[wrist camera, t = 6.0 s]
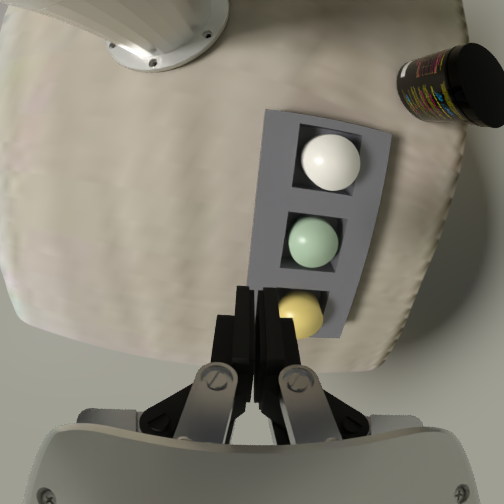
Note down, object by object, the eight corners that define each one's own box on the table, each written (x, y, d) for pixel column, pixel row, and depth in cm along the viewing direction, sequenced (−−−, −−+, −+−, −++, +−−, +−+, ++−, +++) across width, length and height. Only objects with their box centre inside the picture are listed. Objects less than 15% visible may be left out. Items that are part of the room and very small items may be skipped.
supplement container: (432, 134, 22) (501, 145, 12) (384, 97, 21) (448, 88, 11) (450, 87, 19) (516, 84, 10) (404, 49, 18) (465, 25, 9)
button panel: (264, 112, 22) (265, 109, 19) (378, 133, 22) (392, 134, 20) (243, 316, 31) (242, 332, 29) (334, 321, 32) (339, 338, 29)
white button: (303, 130, 21) (309, 130, 18) (353, 139, 21) (364, 140, 18) (297, 180, 22) (301, 186, 20) (345, 188, 23) (355, 194, 20)
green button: (290, 210, 25) (293, 219, 23) (335, 216, 25) (342, 225, 23) (283, 253, 27) (286, 265, 25) (326, 257, 27) (332, 269, 25)
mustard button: (280, 288, 27) (282, 302, 25) (322, 291, 27) (328, 305, 25) (274, 322, 29) (275, 337, 26) (313, 324, 29) (317, 339, 27)
